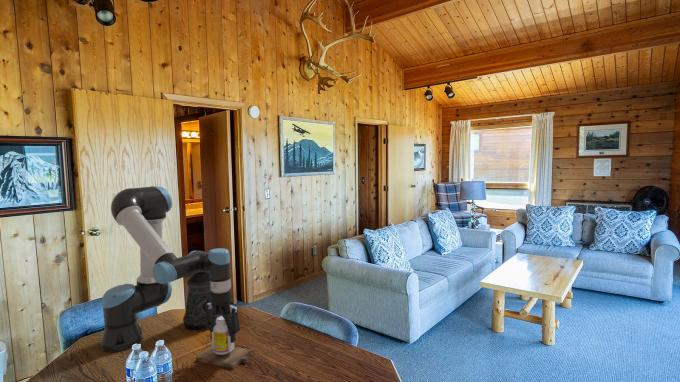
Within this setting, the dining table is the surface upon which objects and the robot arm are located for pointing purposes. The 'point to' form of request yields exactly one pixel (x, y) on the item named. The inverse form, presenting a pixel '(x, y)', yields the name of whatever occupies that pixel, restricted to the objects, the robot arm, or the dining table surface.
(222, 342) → the supplement bottle
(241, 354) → the walnut board
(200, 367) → the dining table surface
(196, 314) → the beer stein
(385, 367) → the dining table surface
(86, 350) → the dining table surface
